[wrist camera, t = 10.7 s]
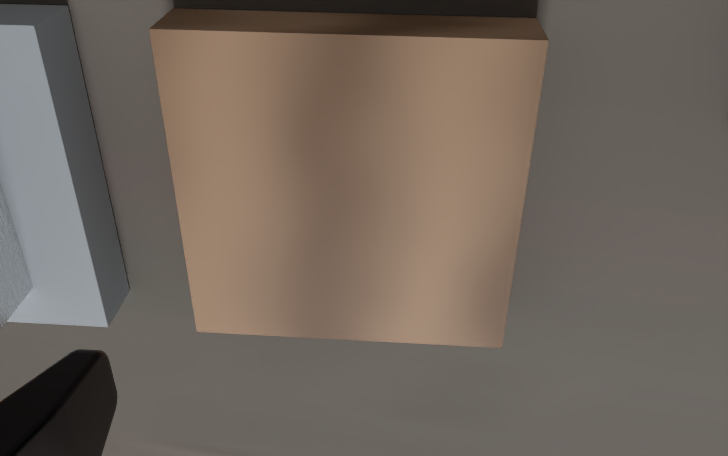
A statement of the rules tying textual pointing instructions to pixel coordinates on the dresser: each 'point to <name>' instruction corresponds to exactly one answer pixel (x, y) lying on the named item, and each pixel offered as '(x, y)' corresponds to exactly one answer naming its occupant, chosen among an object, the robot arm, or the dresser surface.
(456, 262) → the walnut stand
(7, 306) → the housing base
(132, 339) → the dresser surface
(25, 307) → the slate stand
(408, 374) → the dresser surface
